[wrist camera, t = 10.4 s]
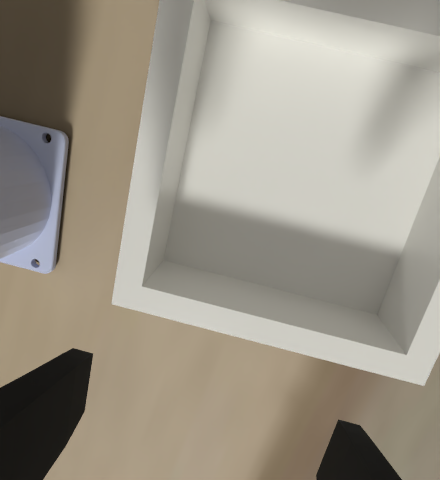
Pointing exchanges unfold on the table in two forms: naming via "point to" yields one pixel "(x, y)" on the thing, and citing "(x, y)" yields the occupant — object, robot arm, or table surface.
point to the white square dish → (292, 178)
